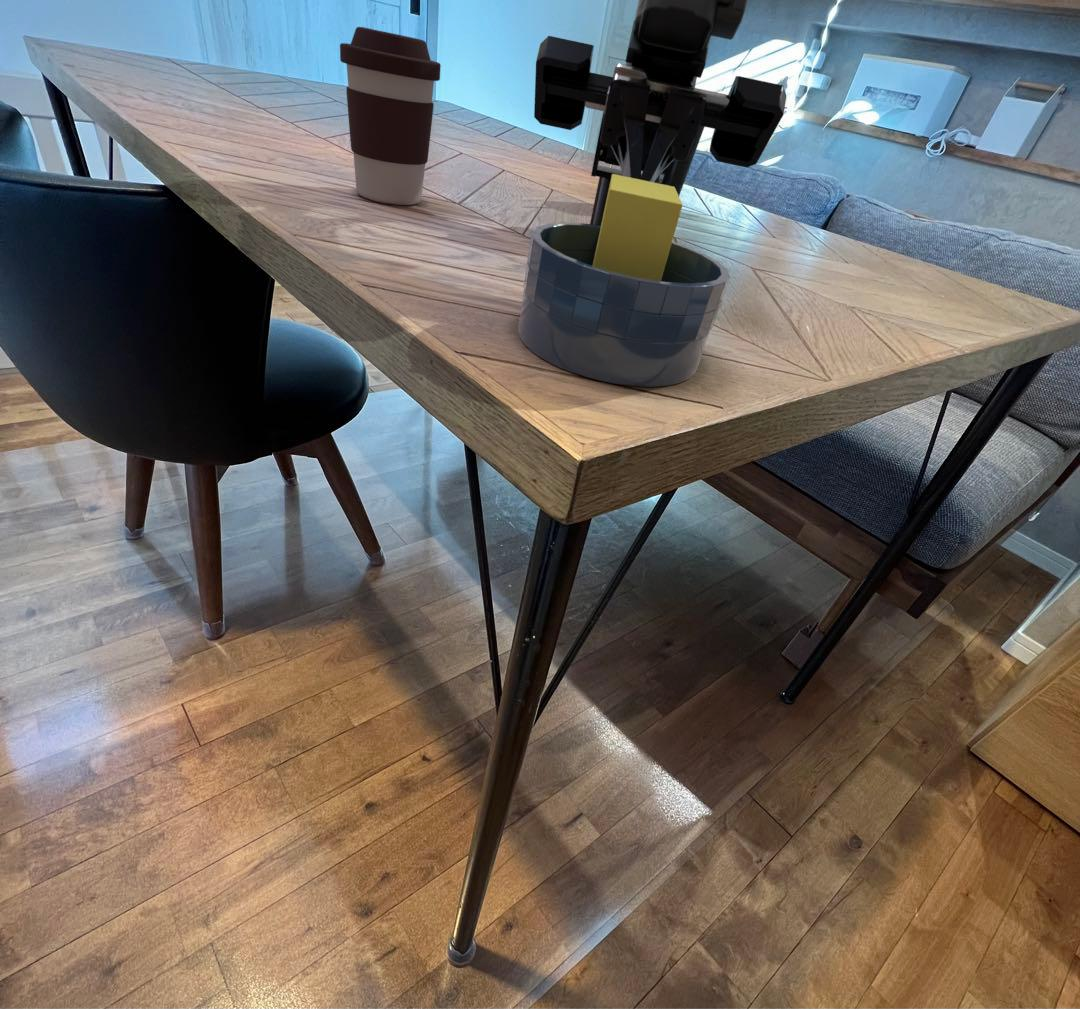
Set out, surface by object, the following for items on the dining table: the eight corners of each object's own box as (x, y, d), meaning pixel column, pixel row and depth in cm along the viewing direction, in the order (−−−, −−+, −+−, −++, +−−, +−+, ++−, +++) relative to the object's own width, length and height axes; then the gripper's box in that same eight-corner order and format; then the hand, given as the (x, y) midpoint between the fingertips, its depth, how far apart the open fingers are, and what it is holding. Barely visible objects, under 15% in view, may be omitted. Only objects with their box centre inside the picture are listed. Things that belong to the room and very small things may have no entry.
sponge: (590, 275, 45) (612, 173, 41) (647, 287, 45) (675, 186, 41) (585, 303, 40) (609, 189, 35) (650, 317, 40) (682, 204, 36)
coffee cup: (390, 212, 62) (393, 34, 53) (324, 189, 66) (316, 17, 57) (450, 206, 70) (461, 48, 61) (388, 185, 73) (390, 32, 64)
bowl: (483, 315, 43) (494, 220, 39) (616, 305, 50) (636, 224, 46) (594, 399, 35) (622, 290, 31) (734, 373, 42) (770, 282, 38)
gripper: (563, -119, 39) (514, 83, 37) (837, -60, 39) (807, 145, 37) (553, 38, 50) (515, 201, 48) (767, 83, 50) (740, 248, 48)
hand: (635, 199), depth 45 cm, fingers closed
